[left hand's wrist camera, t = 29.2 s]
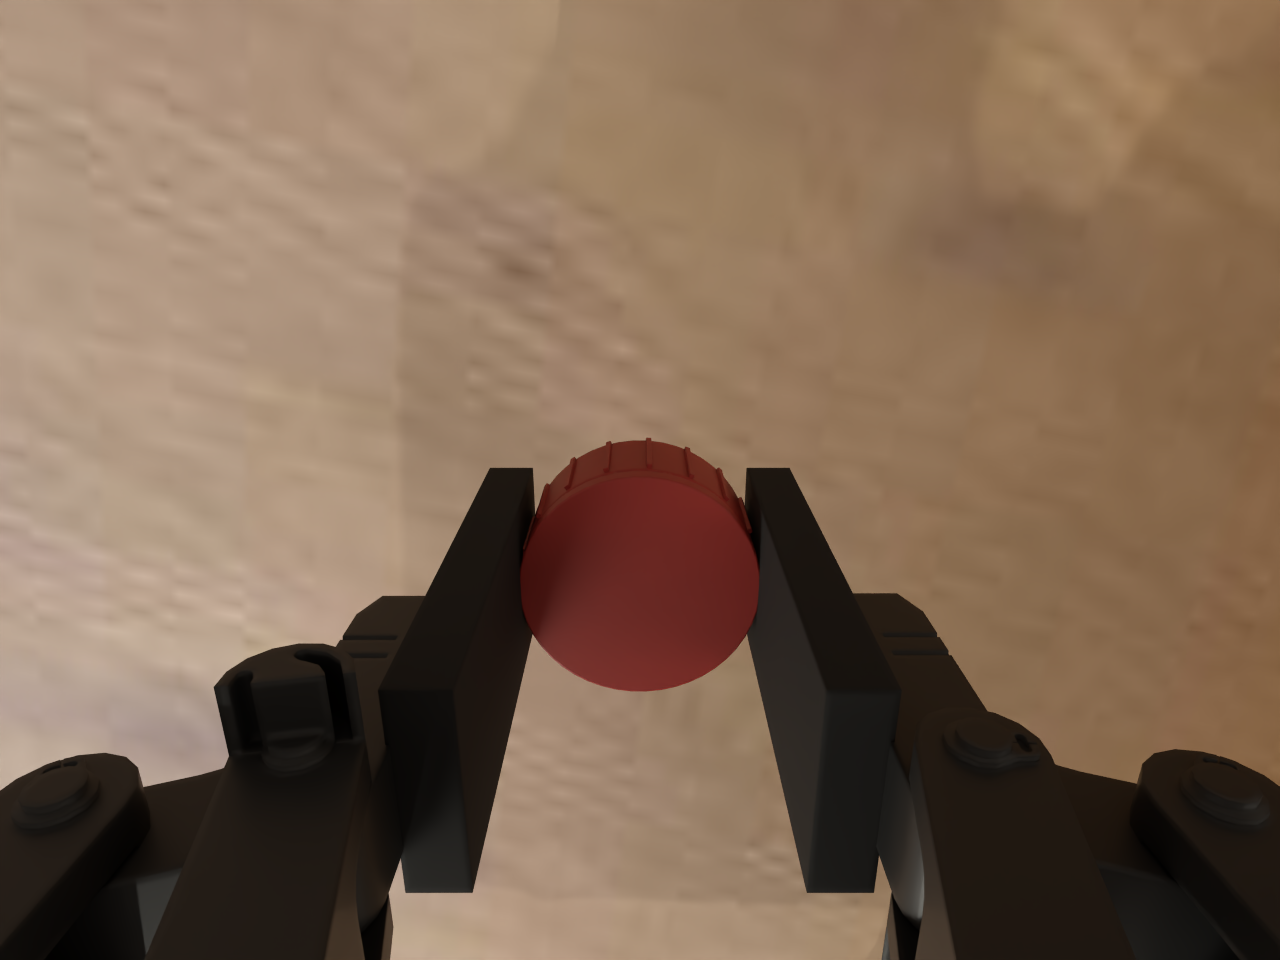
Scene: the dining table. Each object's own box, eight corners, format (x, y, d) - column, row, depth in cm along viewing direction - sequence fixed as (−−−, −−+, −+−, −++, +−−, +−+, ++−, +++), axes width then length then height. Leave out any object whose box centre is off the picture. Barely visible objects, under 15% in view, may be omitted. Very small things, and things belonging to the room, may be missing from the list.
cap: (783, 585, 15) (802, 639, 13) (590, 664, 15) (583, 727, 14) (695, 399, 14) (704, 432, 12) (490, 493, 14) (469, 538, 12)
